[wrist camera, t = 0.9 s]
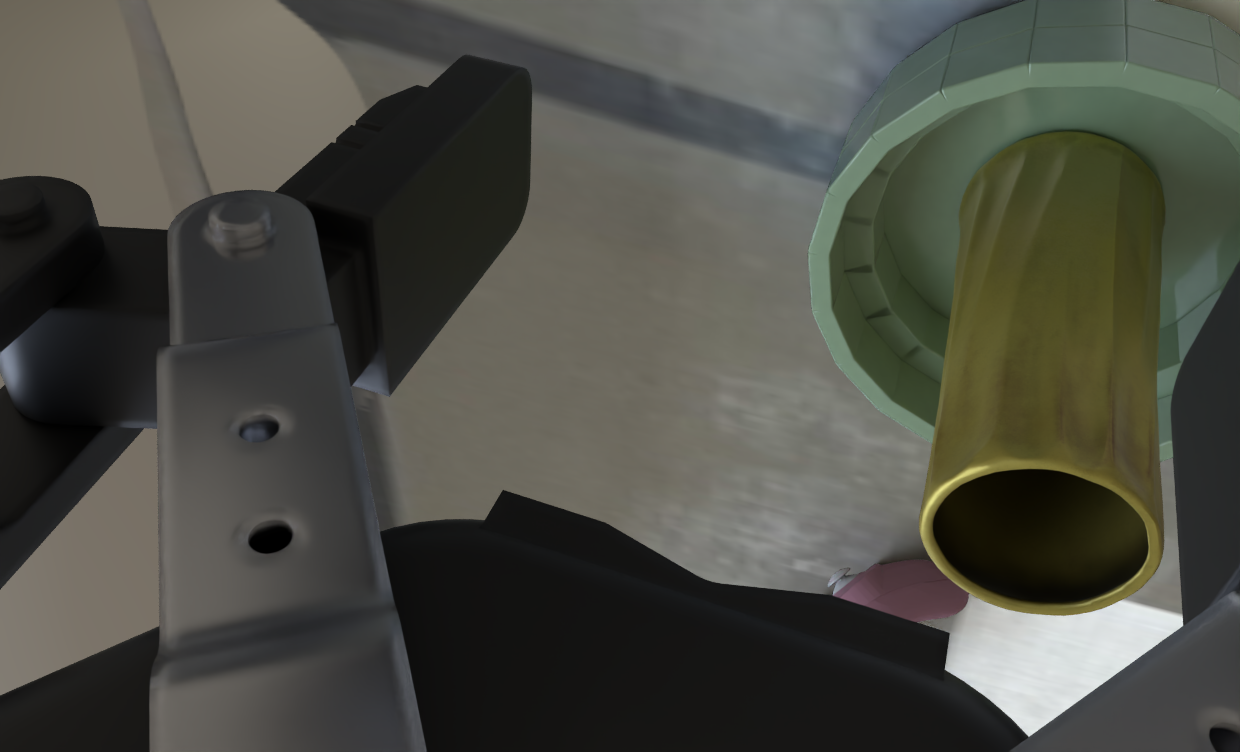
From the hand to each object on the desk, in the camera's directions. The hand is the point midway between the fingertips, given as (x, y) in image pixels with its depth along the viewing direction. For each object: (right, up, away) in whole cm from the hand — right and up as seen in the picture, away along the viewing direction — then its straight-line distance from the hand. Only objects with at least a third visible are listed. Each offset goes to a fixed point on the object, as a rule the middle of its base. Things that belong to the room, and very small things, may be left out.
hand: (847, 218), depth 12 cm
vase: (+12, +4, +22) cm, 26 cm away
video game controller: (+9, -12, +38) cm, 41 cm away
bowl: (+12, +4, +23) cm, 26 cm away
